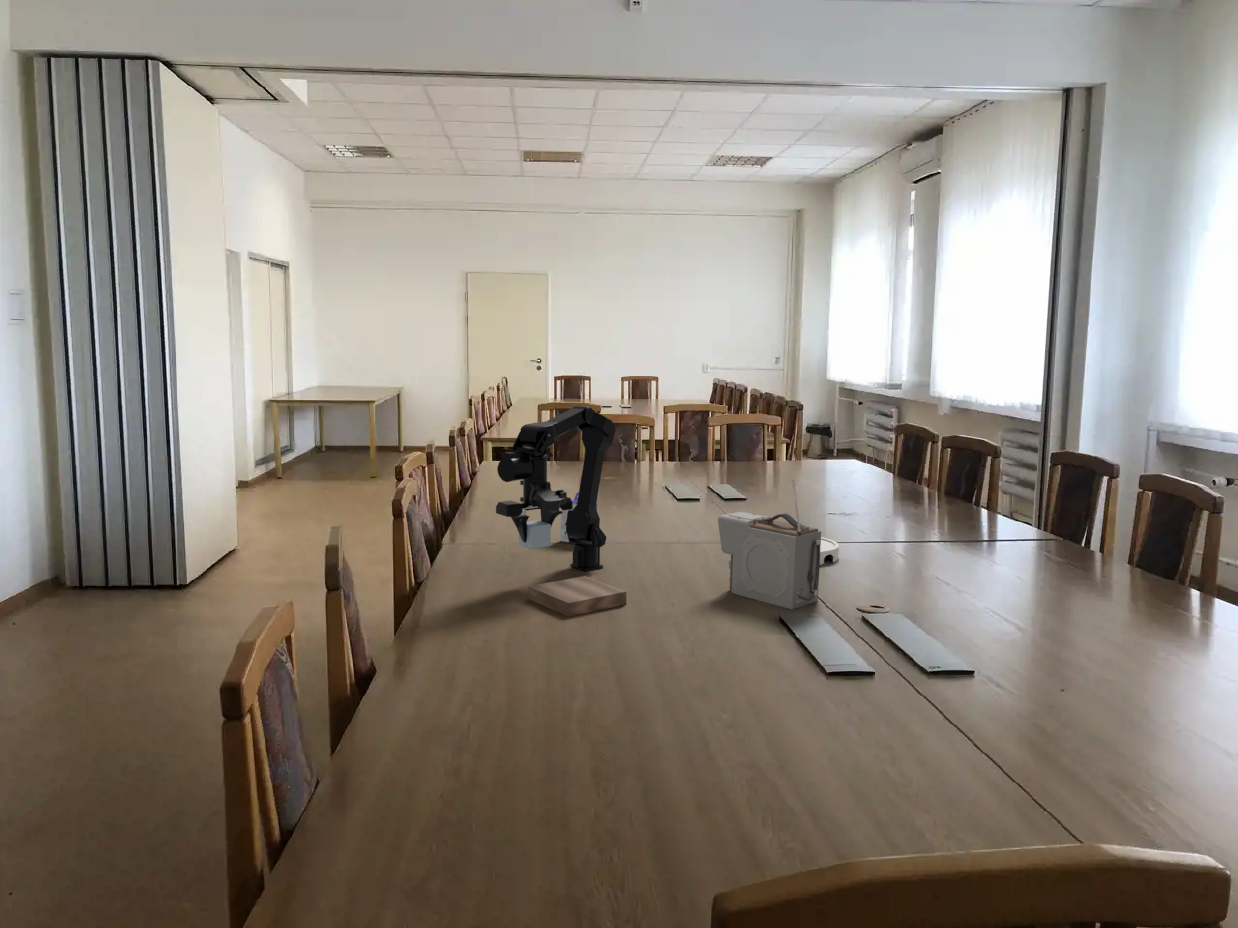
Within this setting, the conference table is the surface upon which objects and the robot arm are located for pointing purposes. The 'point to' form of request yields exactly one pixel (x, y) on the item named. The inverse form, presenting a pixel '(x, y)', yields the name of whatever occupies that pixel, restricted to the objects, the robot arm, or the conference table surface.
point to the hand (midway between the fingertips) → (534, 540)
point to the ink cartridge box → (564, 517)
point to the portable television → (772, 558)
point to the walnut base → (577, 595)
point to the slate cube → (537, 535)
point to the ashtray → (828, 549)
